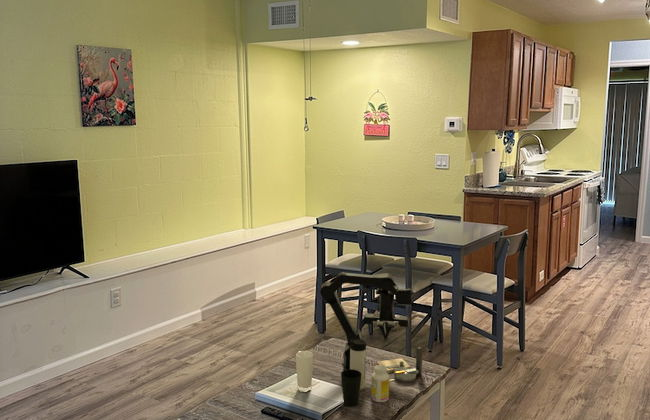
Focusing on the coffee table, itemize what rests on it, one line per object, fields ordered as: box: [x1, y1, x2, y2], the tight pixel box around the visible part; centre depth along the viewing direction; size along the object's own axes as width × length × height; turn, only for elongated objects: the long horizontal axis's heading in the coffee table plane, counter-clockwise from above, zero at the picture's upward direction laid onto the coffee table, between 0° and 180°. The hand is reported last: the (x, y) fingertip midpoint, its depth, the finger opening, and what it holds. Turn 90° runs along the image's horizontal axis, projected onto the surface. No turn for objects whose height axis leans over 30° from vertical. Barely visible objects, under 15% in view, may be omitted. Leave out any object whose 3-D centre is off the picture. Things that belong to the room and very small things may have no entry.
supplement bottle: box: [370, 364, 390, 403], centre depth 227 cm, size 7×7×13 cm
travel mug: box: [350, 339, 367, 392], centre depth 235 cm, size 6×7×20 cm
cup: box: [340, 369, 362, 408], centre depth 223 cm, size 8×8×12 cm
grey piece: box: [393, 346, 424, 384], centre depth 245 cm, size 12×9×12 cm
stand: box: [376, 357, 412, 374], centre depth 256 cm, size 12×9×3 cm
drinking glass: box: [295, 350, 314, 388], centre depth 234 cm, size 7×7×15 cm
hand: (385, 339), depth 252 cm, fingers closed
